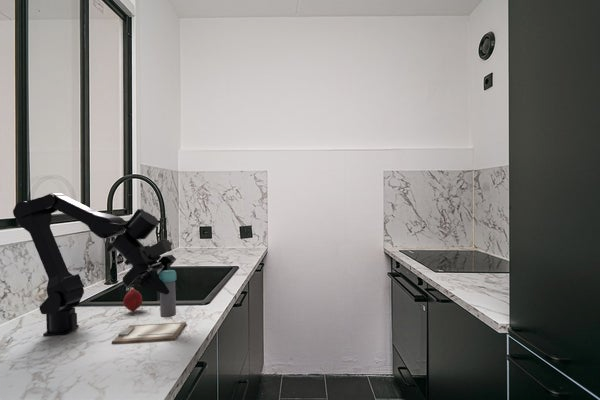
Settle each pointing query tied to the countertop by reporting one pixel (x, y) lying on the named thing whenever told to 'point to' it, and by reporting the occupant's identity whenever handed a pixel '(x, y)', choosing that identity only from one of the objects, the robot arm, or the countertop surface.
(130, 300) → the red rounded piece
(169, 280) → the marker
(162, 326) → the clipboard
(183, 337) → the countertop surface
